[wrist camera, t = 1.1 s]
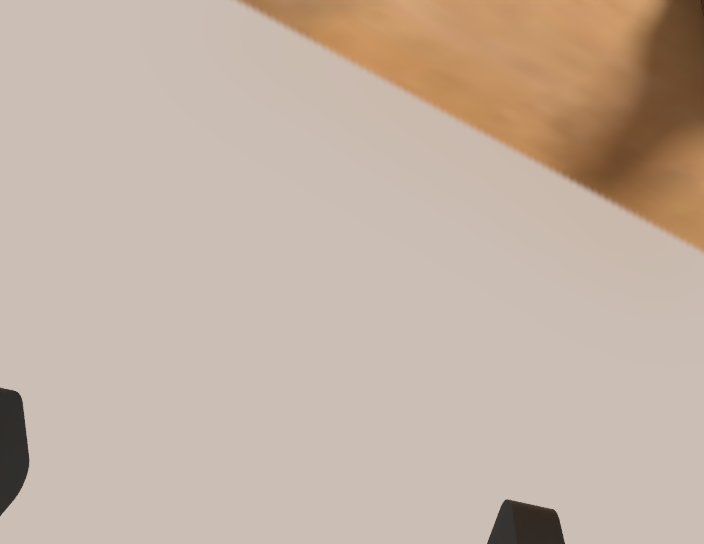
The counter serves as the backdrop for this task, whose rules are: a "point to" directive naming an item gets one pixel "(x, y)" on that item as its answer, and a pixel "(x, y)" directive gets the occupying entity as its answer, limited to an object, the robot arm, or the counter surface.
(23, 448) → the robot arm
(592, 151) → the counter surface
